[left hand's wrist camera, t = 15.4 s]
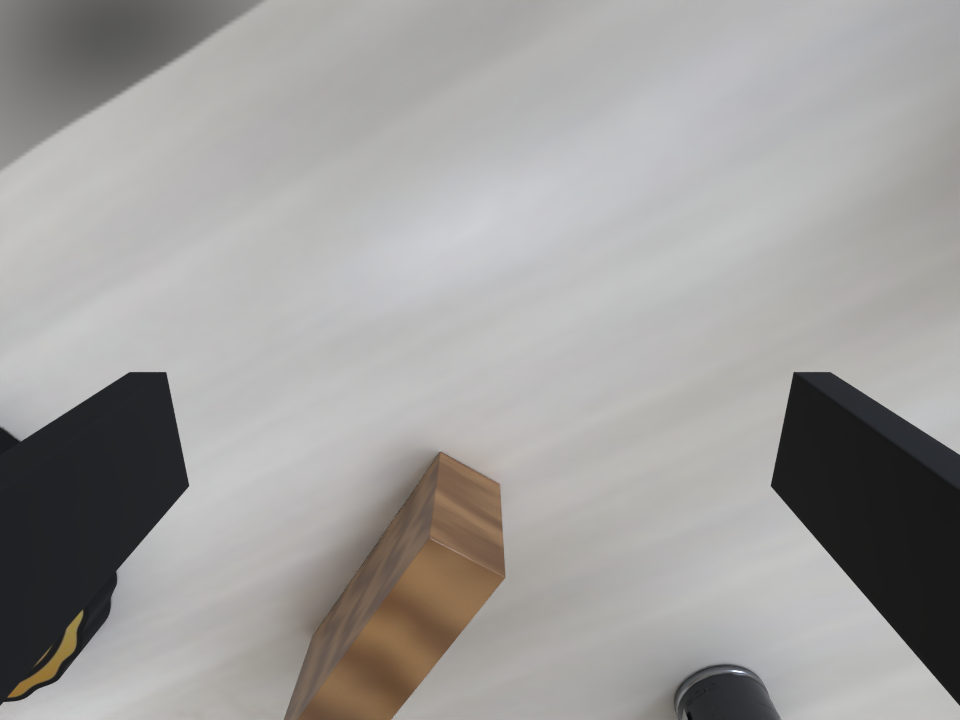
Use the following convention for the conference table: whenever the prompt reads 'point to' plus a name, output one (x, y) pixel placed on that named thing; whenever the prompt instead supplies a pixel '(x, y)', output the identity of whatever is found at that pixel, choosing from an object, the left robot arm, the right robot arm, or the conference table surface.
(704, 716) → the right robot arm
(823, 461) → the left robot arm
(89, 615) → the sign
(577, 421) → the conference table surface
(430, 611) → the box
